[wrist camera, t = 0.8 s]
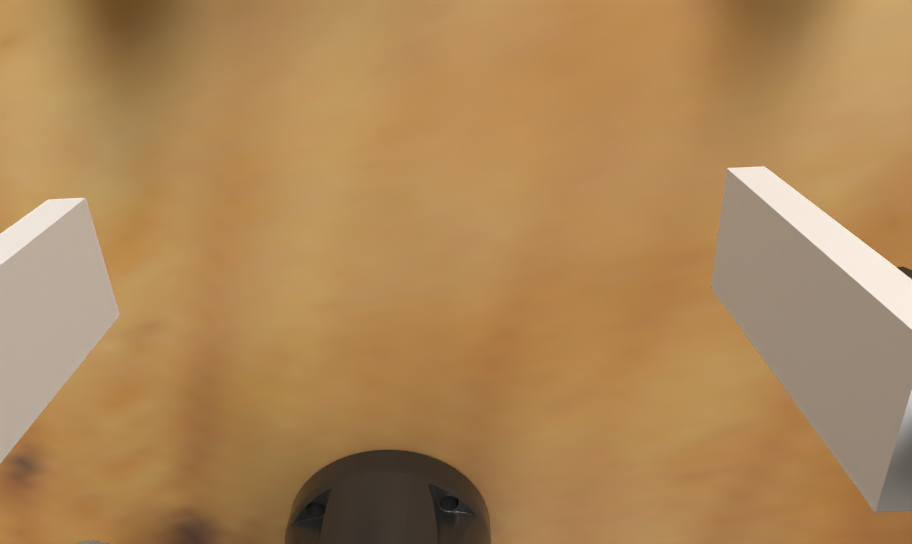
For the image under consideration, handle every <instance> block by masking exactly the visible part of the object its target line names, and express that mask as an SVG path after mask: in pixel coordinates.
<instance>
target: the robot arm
mask: <svg viewBox="0 0 912 544" xmlns="http://www.w3.org/2000/svg"><path fill="white" fill-rule="evenodd" d="M711 289H712V290H713V291H714V293H715V294H716V296H717V297H718V298H719V300H720V301H721V302H722V304H723V305H724V306H725V308H726V309H727V311H728V312H729V313H730V315H731V316H732V317H733V319H734V320H735V322H736V323H737V324H738V326H739V327H740V328H741V330H742V331H743V332H744V334H745V335H746V337H747V338H748V339H749V341H750V342H751V343H752V345H753V346H754V347H755V349H756V350H757V352H758V353H759V354H760V356H761V357H762V358H763V360H764V361H765V363H766V364H767V365H768V367H769V368H770V369H771V371H772V372H773V373H774V375H775V376H776V378H777V379H778V380H779V382H780V383H781V384H782V386H783V387H784V389H785V390H786V391H787V393H788V394H789V395H790V397H791V398H792V399H793V401H794V402H795V404H796V405H797V406H798V408H799V409H800V410H801V412H802V413H803V414H804V416H805V417H806V419H807V420H808V421H809V423H810V424H811V425H812V427H813V428H814V430H815V431H816V432H817V434H818V435H819V436H820V438H821V439H822V440H823V442H824V443H825V445H826V446H827V447H828V449H829V450H830V451H831V453H832V454H833V455H834V457H835V458H836V460H837V461H838V462H839V464H840V465H841V466H842V468H843V469H844V471H845V472H846V473H847V475H848V476H849V477H850V479H851V480H852V481H853V483H854V484H855V486H856V487H857V488H858V490H859V491H860V492H861V494H862V495H863V496H864V498H865V499H866V501H867V502H868V503H869V505H870V506H871V507H872V509H873V510H874V512H875V513H876V512H898V511H912V270H910V269H907V268H905V267H895V266H894V265H892V264H891V263H890V262H889V261H887V260H886V259H885V258H883V257H882V256H881V255H879V254H878V253H877V252H875V251H874V250H873V249H872V248H870V247H869V246H868V245H866V244H865V243H864V242H862V241H861V240H860V239H859V238H857V237H856V236H855V235H853V234H852V233H851V232H849V231H848V230H847V229H845V228H844V227H843V226H842V225H840V224H839V223H838V222H836V221H835V220H834V219H832V218H831V217H830V216H829V215H827V214H826V213H825V212H823V211H822V210H821V209H819V208H818V207H817V206H815V205H814V204H813V203H812V202H810V201H809V200H808V199H806V198H805V197H804V196H802V195H801V194H800V193H798V192H797V191H796V190H795V189H793V188H792V187H791V186H789V185H788V184H787V183H785V182H784V181H783V180H782V179H780V178H779V177H778V176H776V175H775V174H774V173H772V172H771V171H770V170H768V169H767V168H766V167H765V166H763V167H742V168H727V171H726V179H725V186H724V194H723V201H722V209H721V216H720V224H719V231H718V239H717V246H716V254H715V261H714V269H713V276H712V284H711ZM119 316H120V314H119V311H118V307H117V304H116V300H115V297H114V294H113V290H112V287H111V283H110V280H109V276H108V273H107V269H106V266H105V262H104V259H103V256H102V252H101V249H100V245H99V242H98V238H97V235H96V231H95V228H94V225H93V221H92V218H91V214H90V211H89V207H88V204H87V200H86V198H70V199H49V200H47V201H45V202H44V203H43V204H41V205H40V206H39V207H37V208H36V209H34V210H33V211H32V212H30V213H29V214H27V215H26V216H25V217H23V218H22V219H20V220H19V221H18V222H16V223H15V224H13V225H12V226H11V227H9V228H8V229H6V230H5V231H4V232H2V233H1V234H0V463H1V462H2V461H3V459H4V458H5V457H6V456H7V454H8V453H9V452H10V451H11V450H12V448H13V447H14V446H15V445H16V443H17V442H18V441H19V440H20V438H21V437H22V436H23V435H24V433H25V432H26V431H27V430H28V428H29V427H30V426H31V425H32V423H33V422H34V421H35V420H36V419H37V417H38V416H39V415H40V414H41V412H42V411H43V410H44V409H45V407H46V406H47V405H48V404H49V402H50V401H51V400H52V399H53V397H54V396H55V395H56V394H57V392H58V391H59V390H60V389H61V388H62V386H63V385H64V384H65V383H66V381H67V380H68V379H69V378H70V376H71V375H72V374H73V373H74V371H75V370H76V369H77V368H78V366H79V365H80V364H81V363H82V361H83V360H84V359H85V358H86V357H87V355H88V354H89V353H90V352H91V350H92V349H93V348H94V347H95V345H96V344H97V343H98V342H99V340H100V339H101V338H102V337H103V335H104V334H105V333H106V332H107V330H108V329H109V328H110V327H111V326H112V324H113V323H114V322H115V321H116V319H117V318H118V317H119ZM75 544H108V543H104V542H100V541H82V542H78V543H75ZM285 544H491V533H490V522H489V514H488V510H487V507H486V504H485V502H484V500H483V498H482V496H481V494H480V493H479V491H478V490H477V488H476V487H475V486H474V485H473V484H472V483H471V481H470V480H469V479H467V478H466V477H465V476H464V475H463V474H462V473H460V472H459V471H457V470H456V469H455V468H453V467H451V466H450V465H448V464H446V463H444V462H442V461H440V460H437V459H435V458H432V457H429V456H426V455H422V454H418V453H414V452H408V451H400V450H377V451H368V452H362V453H358V454H354V455H350V456H347V457H344V458H342V459H339V460H337V461H335V462H333V463H331V464H329V465H327V466H325V467H324V468H322V469H321V470H319V471H318V472H317V473H316V474H314V475H313V476H312V477H311V478H310V479H309V480H308V481H307V482H306V483H305V484H304V485H303V487H302V488H301V489H300V491H299V493H298V494H297V496H296V498H295V500H294V503H293V506H292V509H291V513H290V517H289V521H288V525H287V529H286V537H285Z"/></svg>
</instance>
